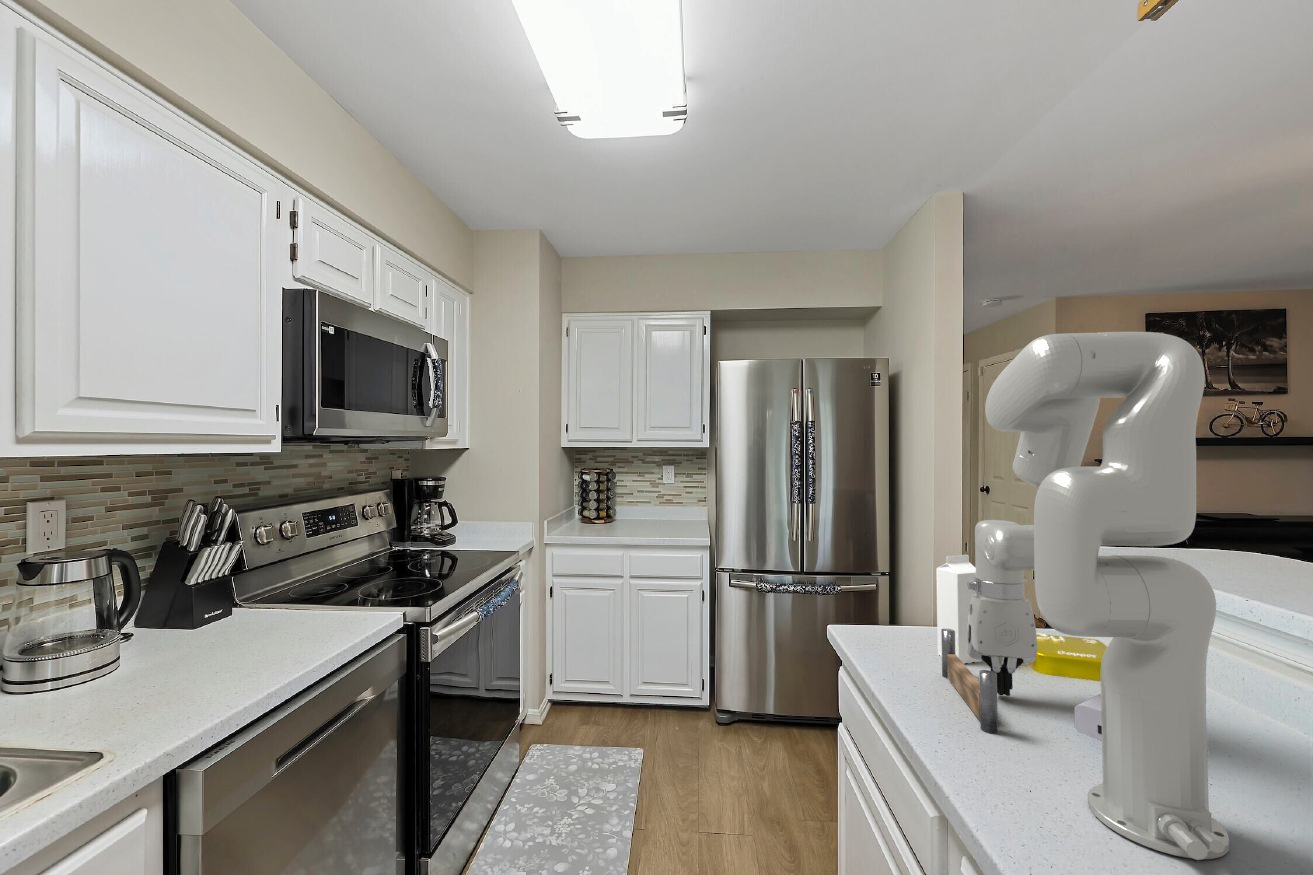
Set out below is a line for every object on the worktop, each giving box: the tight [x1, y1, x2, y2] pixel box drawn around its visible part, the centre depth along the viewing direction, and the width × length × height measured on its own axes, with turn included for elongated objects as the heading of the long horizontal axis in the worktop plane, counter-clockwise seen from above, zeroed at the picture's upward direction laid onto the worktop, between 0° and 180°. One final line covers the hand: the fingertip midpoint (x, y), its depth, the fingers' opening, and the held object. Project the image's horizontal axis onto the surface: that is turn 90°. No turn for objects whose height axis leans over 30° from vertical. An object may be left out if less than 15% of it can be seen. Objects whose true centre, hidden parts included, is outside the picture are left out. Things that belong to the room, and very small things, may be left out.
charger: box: [1074, 693, 1102, 742], centre depth 90 cm, size 5×9×15 cm
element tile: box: [1028, 632, 1108, 682], centre depth 118 cm, size 15×15×5 cm
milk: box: [935, 554, 983, 665], centre depth 122 cm, size 6×6×22 cm
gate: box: [947, 654, 980, 721], centre depth 101 cm, size 18×2×4 cm, turn 168°
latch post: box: [941, 629, 955, 679], centre depth 112 cm, size 2×2×9 cm
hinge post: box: [979, 669, 999, 734], centre depth 91 cm, size 2×2×9 cm
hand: (1001, 692), depth 102 cm, fingers closed
